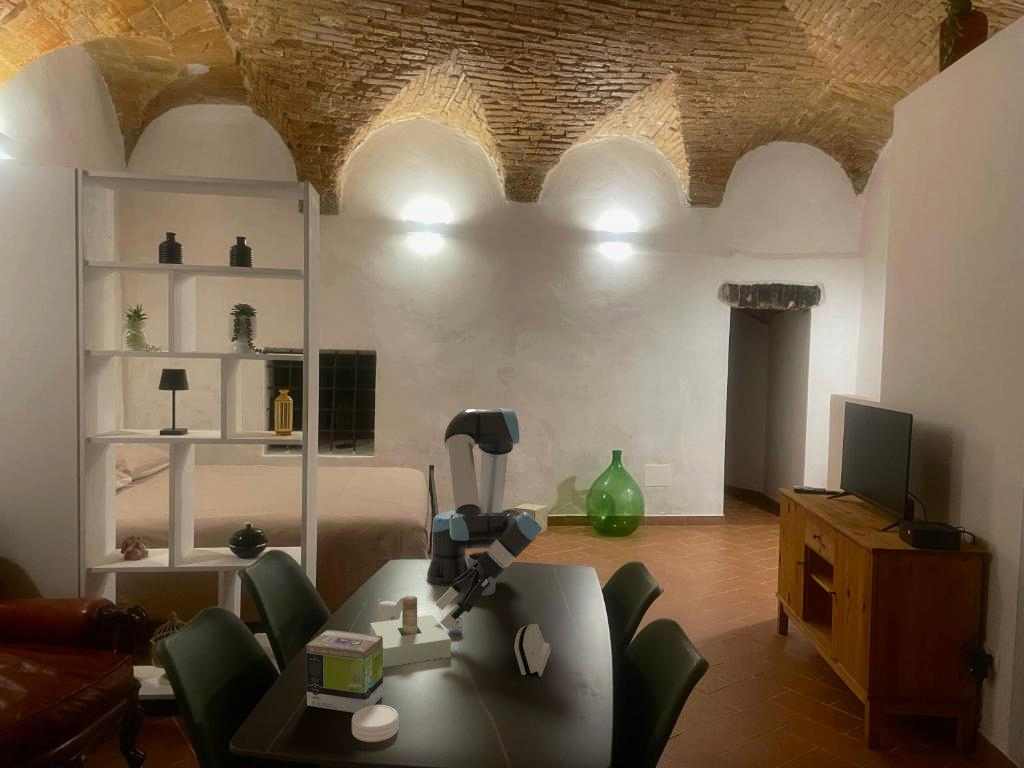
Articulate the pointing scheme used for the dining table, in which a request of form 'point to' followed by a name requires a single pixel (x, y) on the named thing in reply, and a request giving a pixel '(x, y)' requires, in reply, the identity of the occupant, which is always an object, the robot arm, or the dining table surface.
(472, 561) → the grey blue cup
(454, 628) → the steel stub
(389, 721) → the coaster
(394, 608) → the elephant figurine
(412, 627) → the maple pin
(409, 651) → the sage block
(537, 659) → the magnetic window cleaner
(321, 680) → the tea box
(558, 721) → the dining table surface
